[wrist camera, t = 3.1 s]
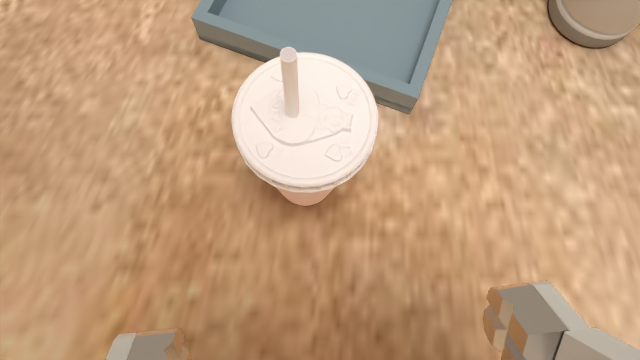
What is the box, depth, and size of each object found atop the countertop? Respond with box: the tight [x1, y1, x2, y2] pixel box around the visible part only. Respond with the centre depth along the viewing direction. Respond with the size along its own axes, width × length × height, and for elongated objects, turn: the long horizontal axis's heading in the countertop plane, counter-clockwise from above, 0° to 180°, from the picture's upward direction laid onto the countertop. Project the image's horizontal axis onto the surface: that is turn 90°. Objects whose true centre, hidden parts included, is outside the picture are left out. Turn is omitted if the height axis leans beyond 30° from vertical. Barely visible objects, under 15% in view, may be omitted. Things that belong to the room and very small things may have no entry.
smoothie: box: [232, 47, 378, 206], centre depth 20 cm, size 6×6×14 cm
